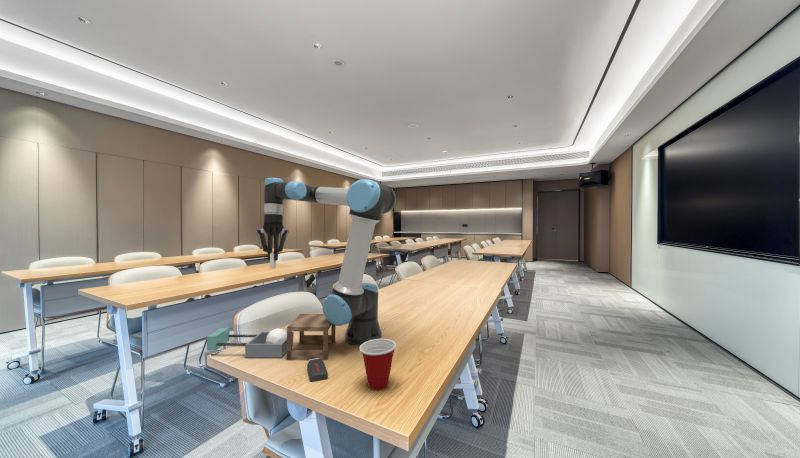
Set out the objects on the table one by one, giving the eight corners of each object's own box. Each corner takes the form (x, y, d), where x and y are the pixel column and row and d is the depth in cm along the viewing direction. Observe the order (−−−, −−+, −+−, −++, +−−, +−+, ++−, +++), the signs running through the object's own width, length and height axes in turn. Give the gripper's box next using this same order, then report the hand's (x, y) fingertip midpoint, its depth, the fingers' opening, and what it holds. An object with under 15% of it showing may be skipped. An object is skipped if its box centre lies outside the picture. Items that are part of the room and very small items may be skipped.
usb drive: (310, 384, 85) (310, 374, 85) (306, 366, 96) (306, 357, 96) (327, 380, 87) (328, 371, 87) (322, 363, 98) (322, 355, 98)
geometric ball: (278, 353, 110) (287, 333, 115) (285, 353, 105) (294, 331, 109) (259, 347, 107) (269, 326, 112) (265, 346, 102) (275, 324, 106)
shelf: (335, 342, 115) (335, 313, 115) (327, 359, 100) (327, 327, 100) (300, 342, 115) (300, 313, 115) (286, 360, 99) (287, 326, 99)
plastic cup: (359, 375, 90) (360, 337, 90) (394, 375, 90) (394, 337, 90) (357, 396, 79) (358, 352, 79) (396, 394, 80) (397, 351, 80)
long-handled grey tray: (293, 343, 113) (293, 326, 113) (281, 357, 101) (281, 338, 101) (224, 343, 112) (224, 326, 112) (203, 357, 100) (203, 338, 100)
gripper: (291, 214, 129) (290, 266, 129) (261, 214, 128) (260, 266, 128) (286, 213, 122) (285, 269, 122) (254, 213, 120) (253, 269, 120)
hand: (272, 268), depth 125 cm, fingers closed
